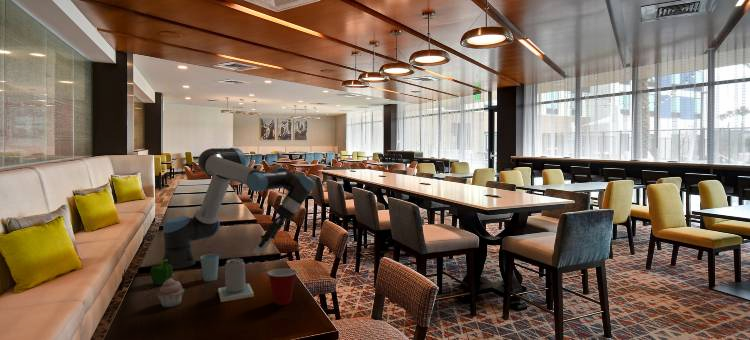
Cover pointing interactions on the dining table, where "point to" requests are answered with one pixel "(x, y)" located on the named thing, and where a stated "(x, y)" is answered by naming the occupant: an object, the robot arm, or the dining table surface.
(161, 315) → the dining table surface
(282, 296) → the plastic cup
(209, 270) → the cup
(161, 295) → the cupcake
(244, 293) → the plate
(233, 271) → the can
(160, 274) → the bell pepper
